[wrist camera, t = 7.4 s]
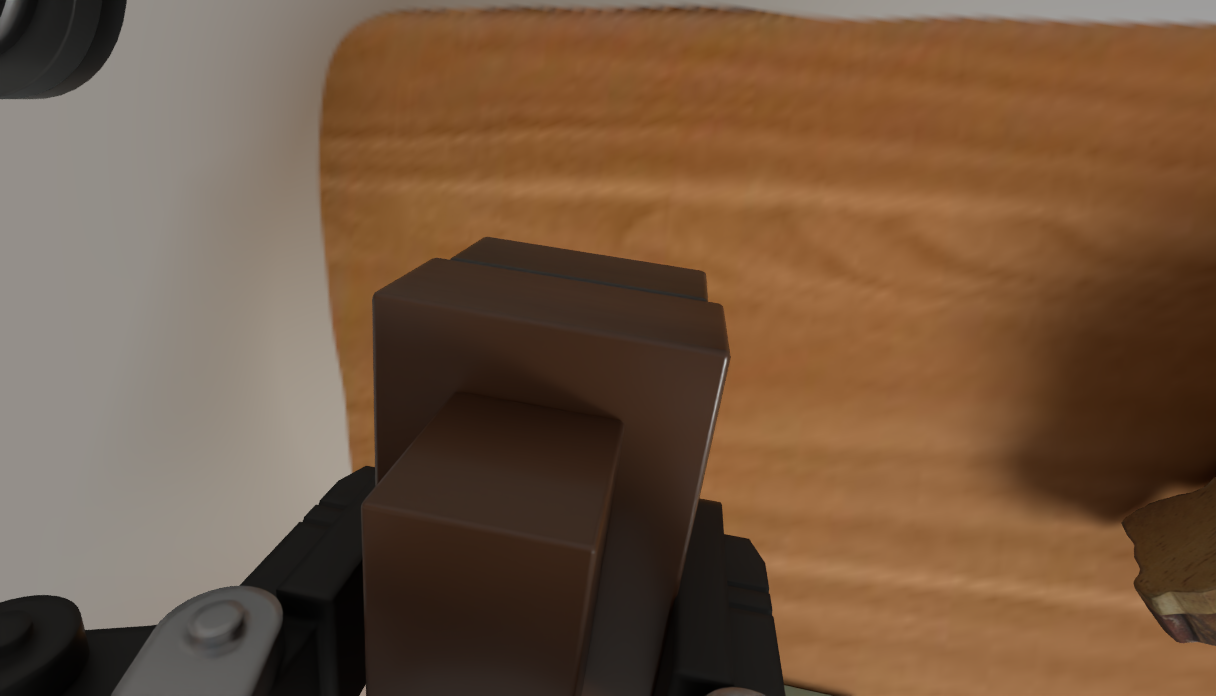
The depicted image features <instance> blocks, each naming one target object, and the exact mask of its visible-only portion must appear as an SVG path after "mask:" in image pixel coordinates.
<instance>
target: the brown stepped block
mask: <svg viewBox="0 0 1216 696" xmlns="http://www.w3.org/2000/svg"><path fill="white" fill-rule="evenodd" d="M372 306H373V366H374V426H375V486H376V487H375V488H374V489H373V490H372V491H371V493H370V494H369V495H368V496H367V497H366V499H365V500H364V501H363V503H362V506H361V522H362V558H363V594H364V631H365V667H366V696H654V691H655V687H656V683H657V678H658V674H659V669H660V665H661V660H662V656H663V651H664V647H665V642H666V638H667V633H668V629H669V624H670V620H671V615H672V611H673V606H674V602H675V598H676V597H677V595H678V591H679V587H680V582H681V578H682V573H683V569H684V564H685V560H686V555H687V551H688V546H689V542H690V537H691V533H692V528H693V524H694V520H695V515H696V511H697V506H698V502H699V497H700V493H701V488H702V484H703V479H704V475H705V470H706V466H707V461H708V457H709V452H710V448H711V443H712V439H713V434H714V430H715V425H716V421H717V417H718V412H719V408H720V403H721V399H722V394H723V390H724V385H725V381H726V376H727V372H728V367H729V363H730V358H731V356H730V349H729V343H728V336H727V329H726V322H725V315H724V309H723V306H722V305H720V304H718V303H712V302H708V293H707V279H706V273H705V272H703V271H699V270H693V269H687V268H680V267H674V266H668V265H661V264H655V263H649V262H643V261H636V260H630V259H624V258H617V257H611V256H605V255H599V254H592V253H586V252H580V251H573V250H567V249H561V248H555V247H548V246H542V245H536V244H529V243H523V242H517V241H511V240H504V239H498V238H492V237H485V238H482V239H481V240H479V241H478V242H476V243H475V244H473V245H471V246H470V247H468V248H467V249H465V250H463V251H462V252H460V253H459V254H457V255H456V256H454V257H452V258H451V259H450V260H447V259H441V258H434V259H431V260H429V261H428V262H426V263H424V264H423V265H421V266H419V267H418V268H416V269H414V270H412V271H411V272H409V273H407V274H406V275H404V276H402V277H401V278H399V279H397V280H395V281H394V282H392V283H390V284H389V285H387V286H385V287H384V288H382V289H380V290H378V291H377V292H375V293H374V295H373V299H372Z"/></svg>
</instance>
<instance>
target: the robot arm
mask: <svg viewBox="0 0 1216 696" xmlns="http://www.w3.org/2000/svg"><path fill="white" fill-rule="evenodd" d="M37 2H38V0H0V54H2V53H4V52H5V51H7V50H8V49H9V48H11V47H12V46H13V45H14V44H15V43H16V42H17V41H18V40H19V39H20V38H21V36H22V35H23V34H24V32H25V31H26V29H27V28H28V26H29V24H30V22H31V20H32V18H33V15H34V12H35V9H36V6H37ZM375 487H376V486H375V467H370V466H365V467H363V468H361V469H359V470H357V471H356V472H354V473H352V474H350V475H348V476H346V477H344V478H343V479H341V480H339V481H338V482H337V483H336V484H335V485H334V486H333V487H332V488H331V489H330V490H329V491H328V492H327V493H326V495H325V496H324V497H323V498H322V499H321V500H320V502H319V505H315V506H314V507H313V508H312V509H311V510H310V511H309V513H308V514H307V515H306V516H305V517H304V520H303V522H299V523H298V524H297V525H296V526H295V527H294V528H293V530H292V531H291V532H290V533H289V534H288V535H287V536H286V537H285V538H284V539H283V540H282V541H281V542H280V543H279V544H278V545H277V546H276V547H275V549H274V550H273V551H272V552H271V553H270V554H269V555H268V556H267V557H266V558H265V559H264V560H263V561H262V562H261V564H260V565H259V566H258V567H257V568H256V569H255V570H254V571H253V572H252V573H251V574H250V575H249V576H248V577H247V578H246V579H245V580H244V581H243V582H242V584H241V585H240V586H230V587H224V588H219V589H216V590H211V591H208V592H206V593H203V594H200V595H198V596H196V597H193V598H191V599H190V600H187V601H186V602H184V603H182V604H181V605H179V606H177V607H176V608H175V609H173V610H172V611H171V612H170V613H168V614H167V615H166V616H165V617H164V618H163V619H162V620H161V621H160V622H159V624H158V625H152V626H139V627H125V628H111V629H96V630H85V629H84V625H83V621H82V617H81V613H80V611H79V609H78V607H77V606H76V605H75V604H74V603H73V602H72V601H70V600H68V599H65V598H62V597H58V596H51V595H50V596H49V595H36V596H27V597H21V598H16V599H11V600H8V601H4V602H1V603H0V696H359V695H360V693H361V692H362V689H363V688H364V686H365V685H366V667H365V631H364V594H363V558H362V522H361V506H362V503H363V501H364V500H365V499H366V497H367V496H368V495H369V494H370V493H371V491H372V490H373V489H374V488H375ZM654 696H786V695H785V688H784V682H783V676H782V669H781V663H780V656H779V650H778V643H777V637H776V630H775V624H774V617H773V616H772V604H771V598H770V594H769V585H768V579H767V572H766V566H765V562H764V561H763V559H762V558H761V556H760V555H759V553H758V552H757V550H756V549H755V547H754V546H753V544H752V543H751V541H750V540H749V539H747V538H741V537H736V536H731V535H726V534H724V529H723V514H722V504H721V502H716V501H710V500H705V499H700V498H699V502H698V506H697V511H696V515H695V520H694V524H693V528H692V533H691V537H690V542H689V546H688V551H687V555H686V560H685V564H684V569H683V573H682V578H681V582H680V587H679V591H678V595H677V597H676V598H675V602H674V606H673V611H672V615H671V620H670V624H669V629H668V633H667V638H666V642H665V647H664V651H663V656H662V660H661V665H660V669H659V674H658V678H657V683H656V687H655V691H654Z"/></svg>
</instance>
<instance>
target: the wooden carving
mask: <svg viewBox="0 0 1216 696" xmlns="http://www.w3.org/2000/svg"><path fill="white" fill-rule="evenodd" d="M1122 526H1123V528H1124V530H1125V532H1126V534H1127V536H1128V537H1129V538H1130V539H1131V541H1132V542H1133V543H1134V545H1135V546H1134V557H1135V559H1136V561H1137V563H1138V565H1139V568H1140V572H1139V575H1138V576H1137V577H1136V578H1135V580H1134V587H1135V589H1136V591H1137V592H1138V594H1139V595H1140V597H1141V598H1142V600H1143V601H1144V603H1145V604H1146V606H1147V608H1148V609H1149V611H1150V612H1151V613H1152V614H1153V616H1154V617H1155V619H1156V620H1157V621H1158V623H1159V624H1160V626H1161V627H1162V628H1163V630H1164V631H1165V632H1166V633H1167V634H1168V635H1170V636H1171V637H1172V638H1173V639H1174V640H1175V641H1176V642H1179V643H1190V642H1201V643H1205V644H1209V645H1214V646H1216V476H1215V477H1214V478H1213V479H1212V480H1211V481H1210V482H1209V483H1208V484H1207V485H1206V486H1205V487H1204V488H1202V489H1199V490H1197V491H1194V492H1192V493H1186V494H1181V495H1177V496H1173V497H1170V498H1166V499H1162V500H1158V501H1155V502H1153V503H1150V504H1148V505H1147V506H1146V507H1144V508H1141V509H1138V510H1136V511H1135V512H1133V513H1132V514H1130V515H1129V516H1127V517H1126V518H1125V519H1124V520H1123V521H1122Z"/></svg>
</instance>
